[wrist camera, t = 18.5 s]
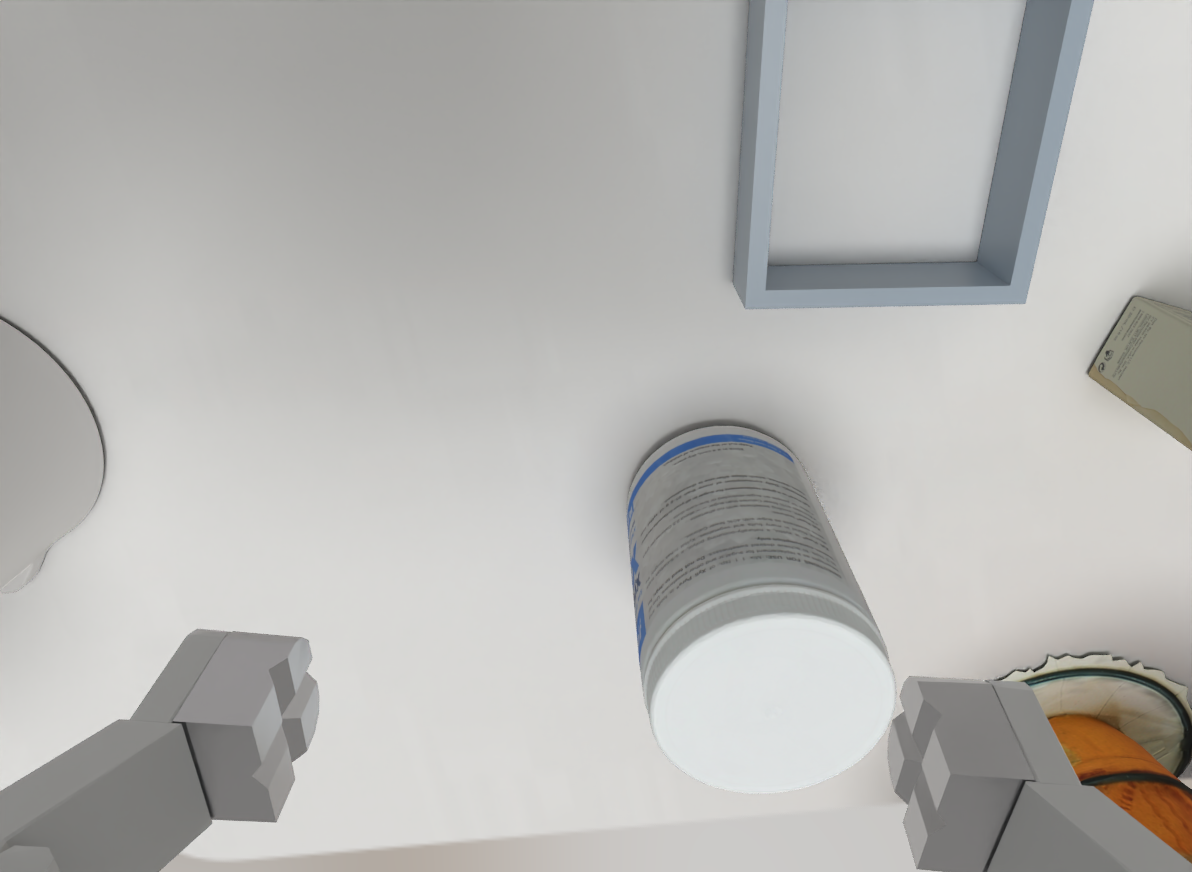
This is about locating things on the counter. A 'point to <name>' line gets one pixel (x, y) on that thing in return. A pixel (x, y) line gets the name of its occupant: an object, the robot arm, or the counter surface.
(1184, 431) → the skincare box
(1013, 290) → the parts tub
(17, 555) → the robot arm
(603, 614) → the counter surface
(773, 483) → the supplement tub
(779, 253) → the counter surface
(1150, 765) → the decorative vase
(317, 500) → the counter surface
